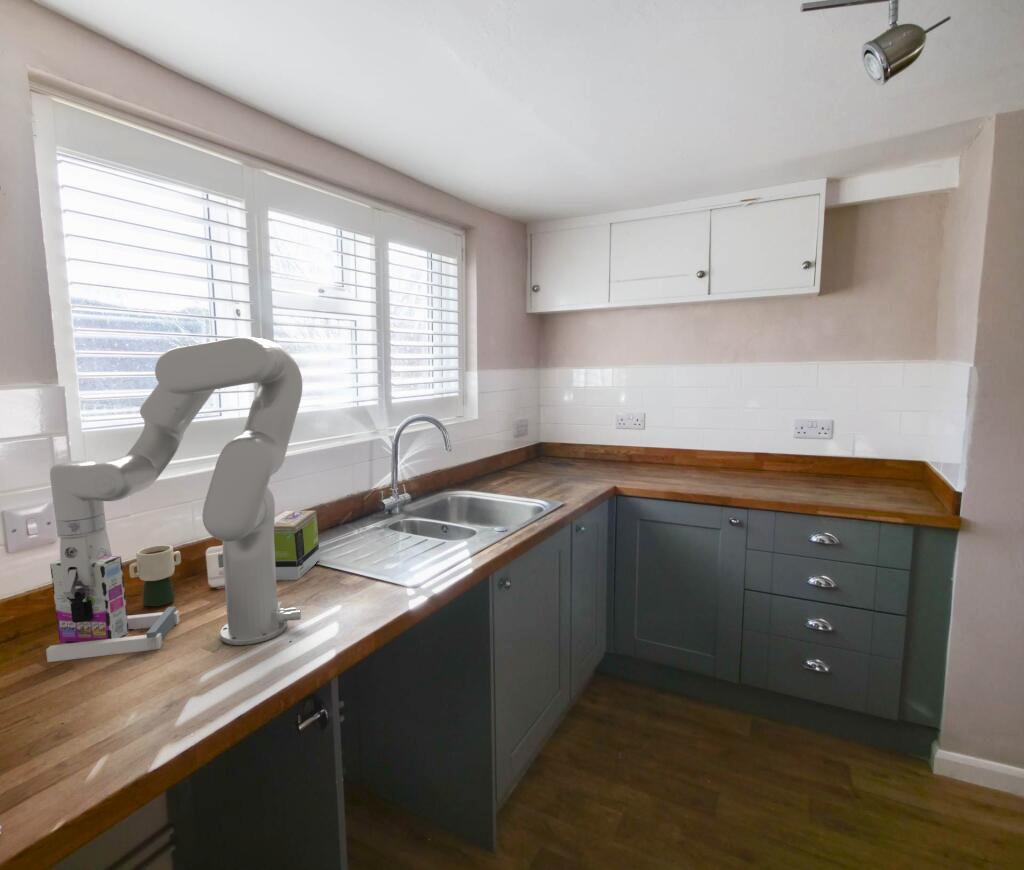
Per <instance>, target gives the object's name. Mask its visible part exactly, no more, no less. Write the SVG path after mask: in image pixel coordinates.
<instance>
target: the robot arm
mask: <svg viewBox="0 0 1024 870" xmlns="http://www.w3.org/2000/svg"><path fill="white" fill-rule="evenodd" d="M301 373H302V372H301V370H300V367H299V365H298V364H297V361H296V360H295V359H294V358H293V356H292V355H291V354H290V353H289V352H288V351H287V350H286V349H285V348H283V346H281V345H280V344H278V343H276V342H274V341H273V340H269V339H265V338H260V337H259V338H258V337H252V336H237V337H231V338H224V339H220V340H215V341H209V342H204V343H202V342H201V343H197V344H192V345H185V346H178V347H174V348H171V349H169V350H167V351H165V352H164V353H162V355H160V356H159V358H158V360H157V361H156V364H155V368H154V374H155V375H154V376H155V378H156V381H157V382H158V384H157V385H156V386H155V387H154V389H153V390H152V392H151V393H150V394H149V396H148V397H147V398H146V400H145V401H144V402H143V403H142V405H141V406H140V409H139V415H140V416H141V418H142V419H143V421H144V424H143V425H144V426H143V430H142V431H141V434H140V435H139V437H138V439H137V440H136V442H135V443H134V445H133V446H132V447H131V448H130V449H129V451H128V452H127V454H125V455H124V456H121V457H118V458H116V459H112V460H109V461H106V462H101V463H100V462H99V463H97V462H95V461H93V460H71V461H65V462H60V463H56V464H54V465H52V467H51V469H50V471H49V479H50V486H51V487H50V488H51V495H52V503H53V509H54V510H53V511H54V518H55V527H56V535H57V538H60V541H59V543H60V544H59V548H60V549H59V556H60V557H59V558H60V559H59V560H60V561H61V574H62V581H63V585H64V590H63V594H64V595H65V596H67V599H68V600H69V604H70V605H71V613H72V621H73V622H74V623H78V622H87V621H91V620H92V619H93V612H92V603H91V600H88V599H89V586H94V585H95V584H96V583H95V576H94V569H93V564H94V563H96V562H97V561H98V560H99V559H101V558H103V557H104V556H113V554H112V550H111V544H110V539H109V536H108V531H107V524H106V523H107V521H106V515H105V505H104V502H116V501H121V500H123V499H125V498H128V497H130V496H132V495H135V494H136V493H139V492H141V491H143V490H145V489H148V488H149V487H150V486H152V485H153V484H154V483H155V482H156V481H157V480H158V478H159V477H160V476H161V474H162V473H163V472H164V471H165V469H166V468H167V466H168V465H169V463H171V461H172V460H173V459H174V456H175V454H176V453H177V452H178V449H179V446H180V444H181V442H182V440H183V438H184V434H185V431H186V430H187V429H188V427H189V426H190V425H191V424H192V422H193V420H194V419H195V417H196V416H197V415H198V414H199V412H200V411H201V409H202V408H203V406H204V405H205V404H206V403H207V401H208V400H209V398H210V397H211V396H212V395H213V393H214V392H215V390H222V389H226V388H230V387H236V386H237V387H238V386H241V385H247V384H256V383H257V389H256V394H255V396H254V398H253V400H252V403H251V405H250V409H249V412H248V417H247V420H246V423H245V426H244V427H243V430H242V433H241V434H240V435H238V436H236V437H234V438H232V439H231V440H230V441H228V442H227V443H226V444H225V445H224V447H223V448H222V450H221V452H220V453H219V455H218V458H217V461H216V462H215V463H216V464H215V465H214V466H215V467H214V469H213V473H212V476H211V479H210V484H209V487H208V490H207V494H206V497H205V501H204V504H203V507H202V508H203V509H202V515H201V516H202V517H201V518H202V523H203V526H204V529H205V530H206V532H207V533H208V534H209V536H211V537H213V538H214V539H216V540H219V541H221V542H222V560H223V564H222V565H223V577H224V588H225V589H224V590H225V591H224V592H225V605H226V614H227V615H226V617H227V623H226V624H224V626H222V628H221V629H220V630H219V638H220V640H221V641H222V642H223V643H225V644H228V645H233V646H244V645H245V646H246V645H253V644H258V643H262V642H266V641H269V640H270V639H273V638H275V637H277V636H278V635H280V634H282V633H283V632H284V631H285V630H286V628H287V626H288V621H291V622H292V621H300V620H301V619H302V611H301V609H300V610H297V607H296V606H295V607H289V608H285V607H284V606H283V607H282V601H279V599H278V586H277V584H278V583H277V580H276V566H275V546H274V519H275V515H276V504H275V498H274V495H273V493H272V491H271V489H270V488H269V487H268V485H269V482H270V479H271V477H272V476H274V474H276V473H277V472H278V471H279V470H280V469H281V468H282V466H283V464H284V462H285V459H286V454H287V451H288V446H289V443H290V440H291V436H292V432H293V430H294V425H295V423H296V422H295V421H296V417H297V414H298V411H299V408H300V404H301V401H302V394H303V378H302V374H301ZM76 583H83V584H84V585H79V586H76ZM88 585H89V586H88ZM76 589H83V594H81V593H80V592H77V590H76Z"/></svg>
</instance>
